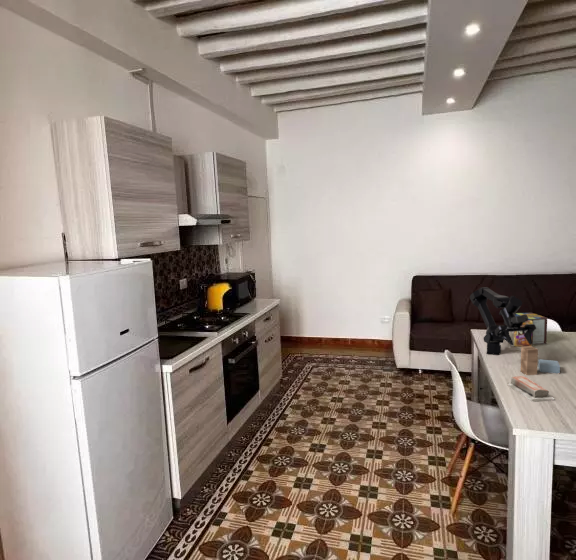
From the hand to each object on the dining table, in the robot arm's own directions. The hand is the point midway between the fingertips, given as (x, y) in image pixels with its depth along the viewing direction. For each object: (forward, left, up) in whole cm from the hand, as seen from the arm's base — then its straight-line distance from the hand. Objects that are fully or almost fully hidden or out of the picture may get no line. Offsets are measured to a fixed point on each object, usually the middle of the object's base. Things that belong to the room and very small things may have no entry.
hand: (521, 344), depth 206 cm
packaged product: (+3, -30, -13) cm, 33 cm away
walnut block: (+3, -5, -12) cm, 14 cm away
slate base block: (+12, +3, -13) cm, 18 cm away
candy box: (0, +42, -12) cm, 44 cm away
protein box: (+4, +56, -13) cm, 57 cm away
